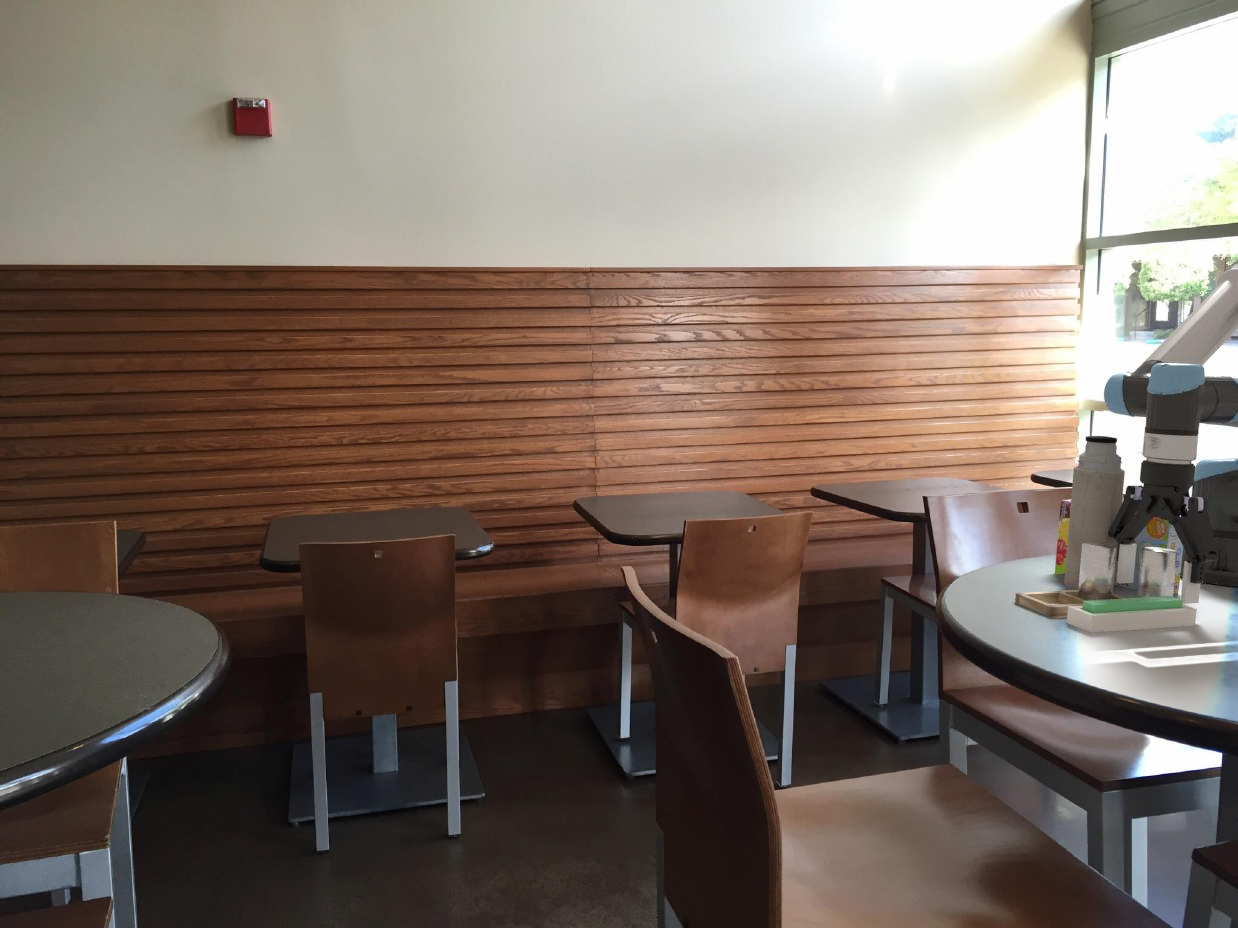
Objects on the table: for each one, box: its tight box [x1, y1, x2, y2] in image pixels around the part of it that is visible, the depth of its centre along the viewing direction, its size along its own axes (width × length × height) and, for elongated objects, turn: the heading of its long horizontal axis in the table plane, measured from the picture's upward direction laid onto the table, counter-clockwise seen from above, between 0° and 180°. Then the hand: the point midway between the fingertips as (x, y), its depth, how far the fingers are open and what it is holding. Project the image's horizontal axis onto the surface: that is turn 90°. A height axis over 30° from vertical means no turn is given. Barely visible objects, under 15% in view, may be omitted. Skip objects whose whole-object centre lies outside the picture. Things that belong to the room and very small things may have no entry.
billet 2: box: [1136, 547, 1177, 598], centre depth 156 cm, size 5×5×10 cm
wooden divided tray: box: [1012, 589, 1125, 619], centre depth 157 cm, size 16×10×3 cm, turn 105°
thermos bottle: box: [1063, 435, 1126, 592], centre depth 169 cm, size 8×8×28 cm
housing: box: [1066, 603, 1197, 633], centre depth 147 cm, size 19×5×4 cm, turn 105°
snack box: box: [1054, 498, 1183, 596], centre depth 174 cm, size 21×6×15 cm, turn 29°
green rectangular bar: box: [1082, 596, 1183, 613], centre depth 147 cm, size 16×2×4 cm, turn 105°
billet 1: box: [1078, 542, 1117, 601], centre depth 157 cm, size 5×5×10 cm
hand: (1155, 592), depth 156 cm, fingers open, 12 cm apart
